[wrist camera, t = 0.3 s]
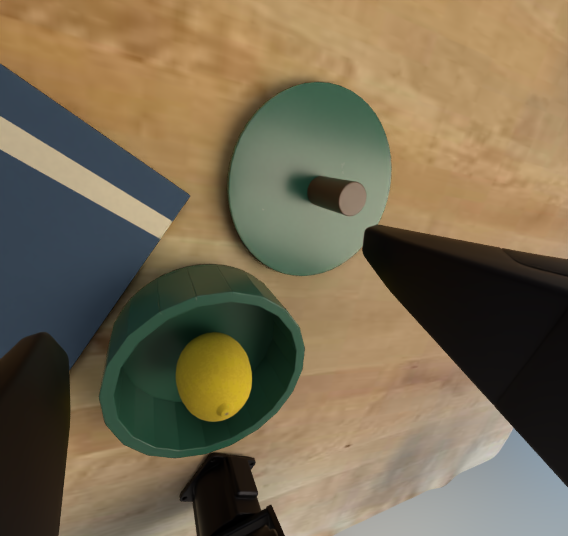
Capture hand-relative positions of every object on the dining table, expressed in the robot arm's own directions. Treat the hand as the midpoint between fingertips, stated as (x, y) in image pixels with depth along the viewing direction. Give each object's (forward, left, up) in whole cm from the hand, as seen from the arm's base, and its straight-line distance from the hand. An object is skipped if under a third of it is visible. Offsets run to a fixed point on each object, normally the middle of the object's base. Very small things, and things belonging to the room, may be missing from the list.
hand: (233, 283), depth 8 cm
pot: (-9, -8, -15) cm, 19 cm away
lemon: (-9, -8, -14) cm, 19 cm away
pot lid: (+7, -8, -14) cm, 18 cm away
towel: (-9, +5, -15) cm, 18 cm away
